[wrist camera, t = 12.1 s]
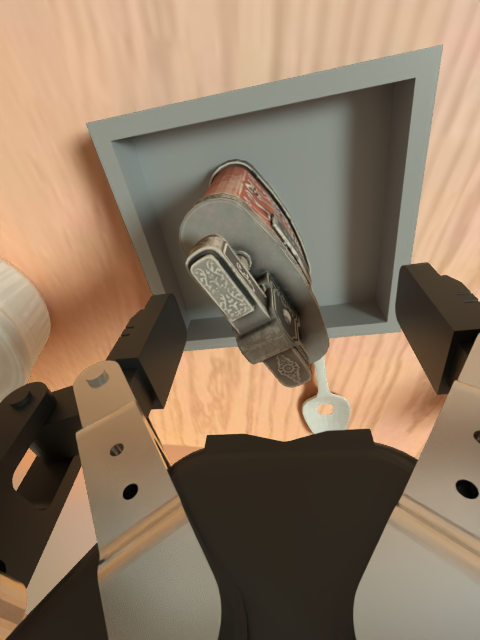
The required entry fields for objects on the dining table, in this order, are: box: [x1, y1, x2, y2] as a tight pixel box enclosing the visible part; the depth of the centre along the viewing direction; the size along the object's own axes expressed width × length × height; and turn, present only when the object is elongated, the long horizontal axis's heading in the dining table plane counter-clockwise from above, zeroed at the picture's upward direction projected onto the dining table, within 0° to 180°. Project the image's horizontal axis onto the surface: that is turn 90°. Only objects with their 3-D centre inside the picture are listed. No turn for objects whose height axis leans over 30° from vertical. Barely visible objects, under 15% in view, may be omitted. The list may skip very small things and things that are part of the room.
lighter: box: [179, 159, 329, 387], centre depth 14 cm, size 8×3×10 cm, turn 34°
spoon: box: [302, 356, 350, 434], centre depth 23 cm, size 4×21×2 cm, turn 14°
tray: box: [86, 45, 443, 351], centre depth 17 cm, size 14×13×3 cm
